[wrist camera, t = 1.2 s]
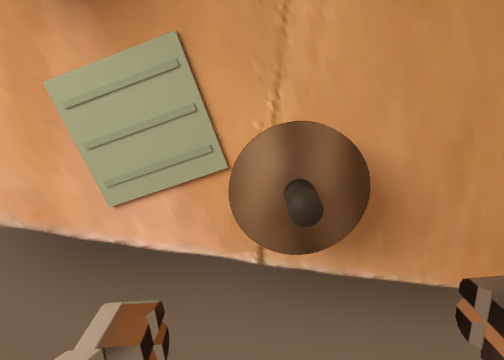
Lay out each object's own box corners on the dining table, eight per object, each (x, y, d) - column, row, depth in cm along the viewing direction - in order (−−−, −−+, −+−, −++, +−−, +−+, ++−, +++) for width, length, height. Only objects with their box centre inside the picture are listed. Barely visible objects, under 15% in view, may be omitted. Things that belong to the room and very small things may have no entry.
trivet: (176, 31, 34) (174, 30, 33) (228, 166, 39) (227, 168, 38) (46, 81, 36) (40, 82, 35) (111, 205, 41) (108, 208, 40)
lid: (349, 100, 27) (368, 106, 23) (380, 228, 31) (401, 255, 27) (208, 148, 29) (200, 162, 24) (255, 265, 33) (255, 296, 28)
